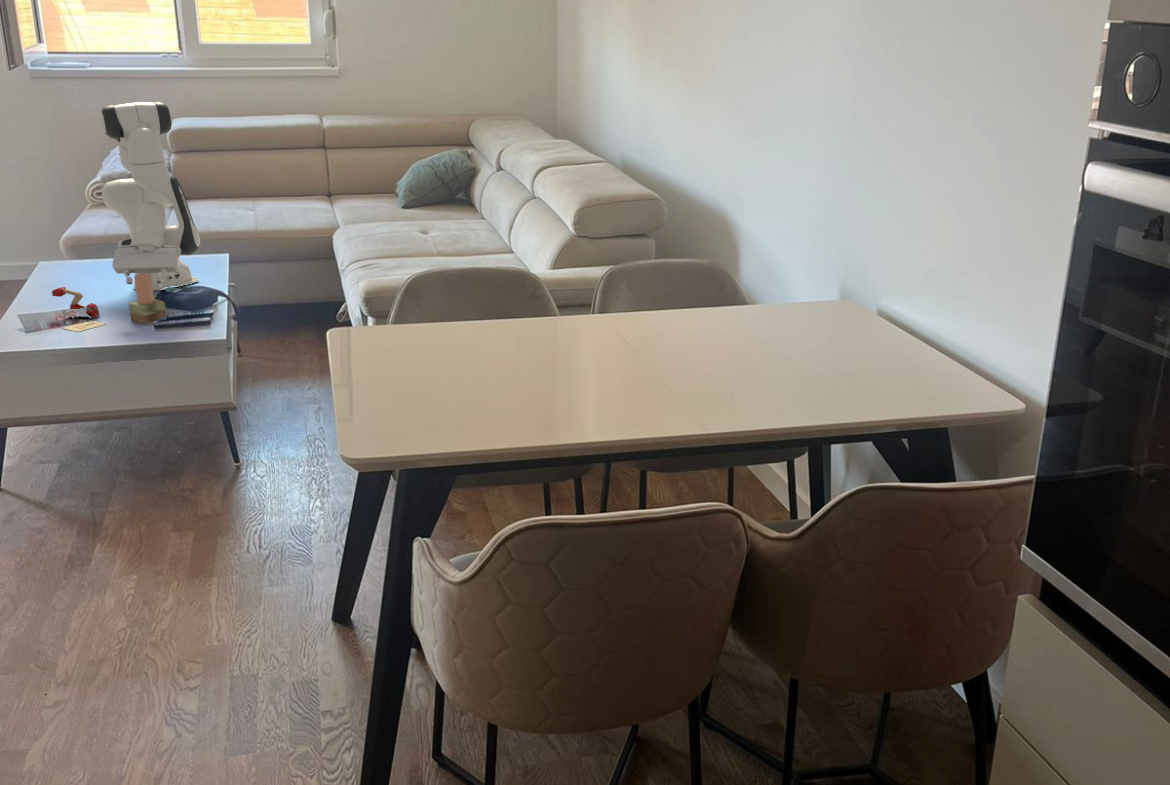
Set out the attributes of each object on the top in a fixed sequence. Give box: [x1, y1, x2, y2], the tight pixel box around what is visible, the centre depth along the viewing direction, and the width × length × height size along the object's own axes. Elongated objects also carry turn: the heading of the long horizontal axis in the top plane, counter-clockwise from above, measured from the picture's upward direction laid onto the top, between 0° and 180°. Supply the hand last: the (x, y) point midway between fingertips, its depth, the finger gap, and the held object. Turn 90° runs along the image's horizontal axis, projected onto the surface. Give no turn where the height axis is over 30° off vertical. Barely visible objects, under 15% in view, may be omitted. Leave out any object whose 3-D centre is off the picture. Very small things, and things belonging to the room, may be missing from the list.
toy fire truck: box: [51, 286, 100, 319], centre depth 347 cm, size 3×14×10 cm, turn 84°
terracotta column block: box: [133, 273, 155, 304], centre depth 341 cm, size 4×4×9 cm
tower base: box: [128, 298, 168, 326], centre depth 344 cm, size 8×8×6 cm
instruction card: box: [62, 320, 107, 333], centre depth 338 cm, size 10×8×1 cm
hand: (144, 283), depth 340 cm, fingers open, 8 cm apart
